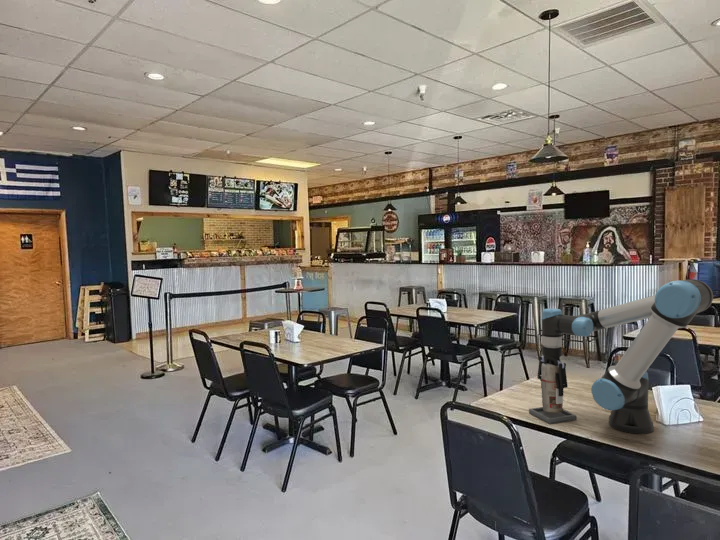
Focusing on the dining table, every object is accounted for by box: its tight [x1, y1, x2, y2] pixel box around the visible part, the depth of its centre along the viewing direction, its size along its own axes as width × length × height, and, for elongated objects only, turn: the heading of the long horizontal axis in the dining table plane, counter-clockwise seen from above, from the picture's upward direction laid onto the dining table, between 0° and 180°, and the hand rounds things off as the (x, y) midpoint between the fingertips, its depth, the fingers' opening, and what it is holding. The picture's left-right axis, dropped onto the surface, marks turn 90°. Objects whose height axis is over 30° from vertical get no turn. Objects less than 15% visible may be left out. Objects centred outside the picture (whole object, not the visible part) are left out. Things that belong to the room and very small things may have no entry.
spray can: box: [540, 363, 564, 413], centre depth 193 cm, size 8×8×20 cm
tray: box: [528, 406, 577, 425], centre depth 193 cm, size 13×13×2 cm
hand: (551, 400), depth 193 cm, fingers closed on spray can, 8 cm apart
